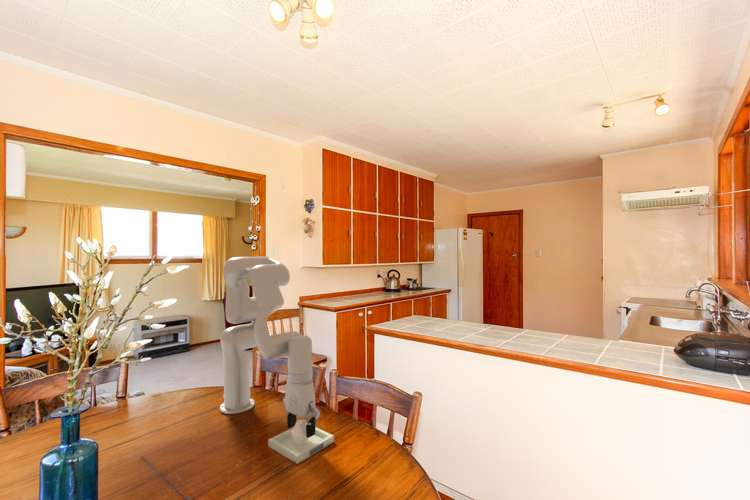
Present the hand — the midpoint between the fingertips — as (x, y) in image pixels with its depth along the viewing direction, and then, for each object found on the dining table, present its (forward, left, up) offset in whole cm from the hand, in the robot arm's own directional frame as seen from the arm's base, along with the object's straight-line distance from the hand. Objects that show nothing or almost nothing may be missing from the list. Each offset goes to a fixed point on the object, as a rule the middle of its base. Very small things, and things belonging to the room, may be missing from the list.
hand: (301, 430), depth 111 cm
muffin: (0, 0, -4) cm, 4 cm away
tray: (0, 0, -4) cm, 4 cm away
